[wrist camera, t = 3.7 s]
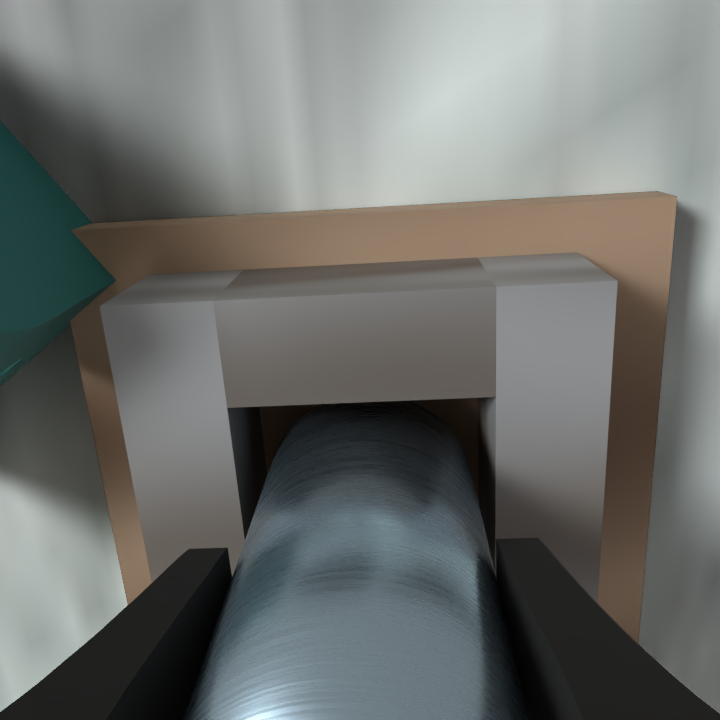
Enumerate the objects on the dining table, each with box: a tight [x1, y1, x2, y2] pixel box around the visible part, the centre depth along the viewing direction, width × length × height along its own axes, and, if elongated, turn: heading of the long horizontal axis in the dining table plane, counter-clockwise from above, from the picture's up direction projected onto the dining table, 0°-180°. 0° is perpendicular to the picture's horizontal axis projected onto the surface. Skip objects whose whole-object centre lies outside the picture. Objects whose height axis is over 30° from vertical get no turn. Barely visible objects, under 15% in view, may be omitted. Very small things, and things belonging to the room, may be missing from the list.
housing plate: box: [70, 191, 677, 643], centre depth 16 cm, size 22×12×4 cm, turn 3°
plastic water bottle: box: [183, 400, 529, 720], centre depth 10 cm, size 4×4×9 cm
